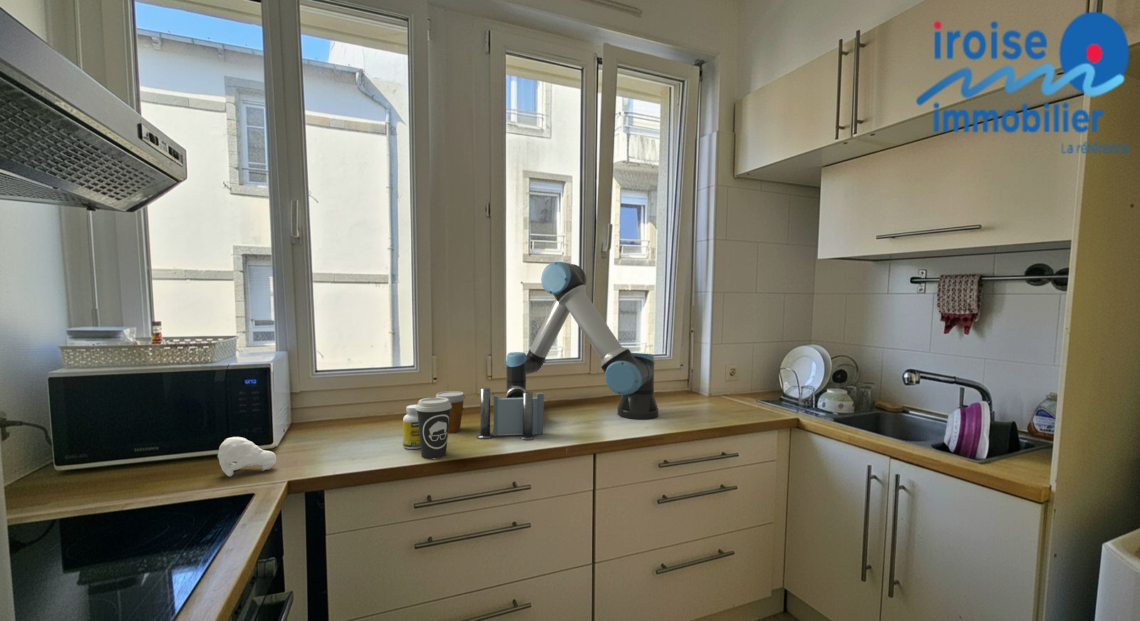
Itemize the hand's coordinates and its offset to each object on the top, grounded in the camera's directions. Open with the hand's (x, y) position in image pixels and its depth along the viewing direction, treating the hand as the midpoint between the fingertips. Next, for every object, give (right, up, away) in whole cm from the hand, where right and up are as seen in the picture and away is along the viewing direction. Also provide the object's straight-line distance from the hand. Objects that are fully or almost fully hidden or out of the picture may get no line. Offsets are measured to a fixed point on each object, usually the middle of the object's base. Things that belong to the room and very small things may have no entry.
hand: (518, 413), depth 148 cm
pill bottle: (-28, -7, -13) cm, 32 cm away
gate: (0, -6, -1) cm, 6 cm away
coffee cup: (-21, -7, -20) cm, 30 cm away
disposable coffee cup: (-23, -6, +4) cm, 24 cm away
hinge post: (-10, -6, -3) cm, 12 cm away
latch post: (+3, -7, -4) cm, 8 cm away
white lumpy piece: (-63, -7, -33) cm, 71 cm away
